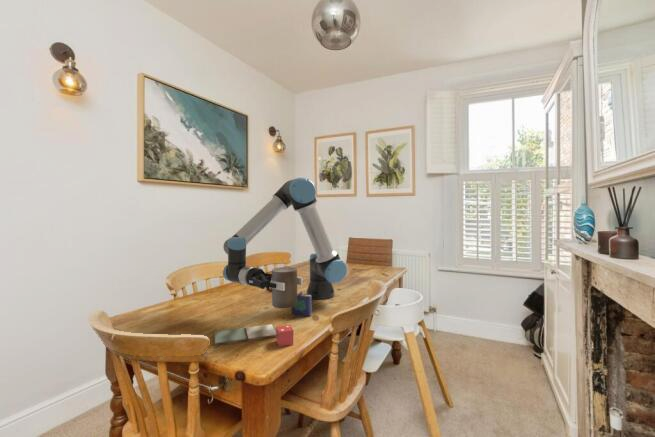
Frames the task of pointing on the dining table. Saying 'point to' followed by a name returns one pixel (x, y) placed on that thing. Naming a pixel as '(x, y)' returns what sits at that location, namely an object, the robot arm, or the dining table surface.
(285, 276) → the pillar candle
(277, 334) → the red die
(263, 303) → the dining table surface
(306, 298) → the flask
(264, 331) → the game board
